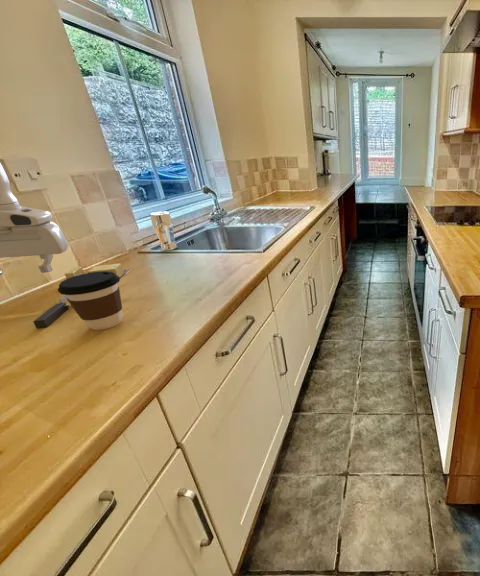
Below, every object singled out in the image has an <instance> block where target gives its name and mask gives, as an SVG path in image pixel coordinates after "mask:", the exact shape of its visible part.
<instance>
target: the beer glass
mask: <svg viewBox="0 0 480 576" xmlns="http://www.w3.org/2000/svg"><path fill="white" fill-rule="evenodd" d="M149 216H150V220H151V225H152V228H153V230H154V232H155V234H156V236H157V238H158V240H159V243H160V250H161V251H172V250H177V249H178V248H179V247H178V244H177V242H176V239H175V231H174V230H175V229H174V224H173V220H172V218H171V215H170V211H155V212H152V213H150V214H149Z"/></svg>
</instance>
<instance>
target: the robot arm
mask: <svg viewBox="0 0 480 576" xmlns="http://www.w3.org/2000/svg"><path fill="white" fill-rule="evenodd" d="M10 182H11V181H10V180H9V178H8V175H7V173H6V171H5V169H4V166H3V165H2V163H1V162H0V259H3V258H4V259H6V258H18V257H19V258H21V257H35V256H38V257H39V258H40V260H43V262H42V264H40V265H38V267H37V268H38V269H39V270H40V271H39V272H40V273H50V272H52V271H53V267H52V265H51V264H52V261H53V258H54V255H60V254H62V253H64V252H66V251H67V250H68V248H69V244H68V241H67V238H66V236H65V234H64V233H63V231H62V229H61V228H60V227H59V225H58V224H57V223H55V222H53V221H52V220H53V214H52V213H51V212H50V211H47V210H43V209H37V208H33V207H29V206H23V205H20V203H19V200H18V199H17V197H16V196H15V195H14V194H13V192H12V189H11V185H10V184H11V183H10ZM3 274H4V273H3V271H2V268H1V267H0V276H3Z"/></svg>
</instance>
